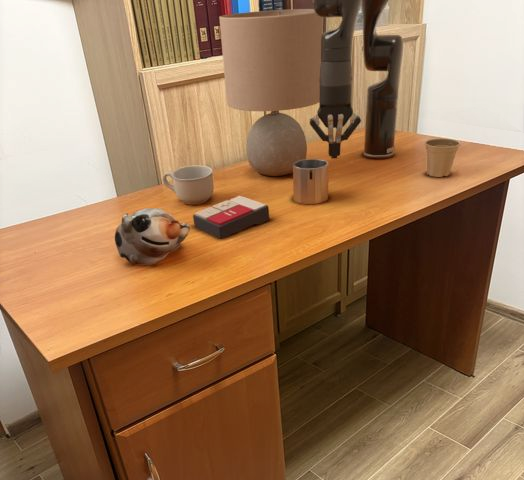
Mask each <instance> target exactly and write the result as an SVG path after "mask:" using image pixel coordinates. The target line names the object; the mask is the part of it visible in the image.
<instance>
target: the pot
mask: <svg viewBox="0 0 524 480" xmlns="http://www.w3.org/2000/svg"><path fill="white" fill-rule="evenodd" d="M329 167H330V166H329V161H327V160H326V159H322V158H306V159H303V160H299V161H296V162H294V163H293V173H292V181H293V183H292V185H293V186H292V187H293V201H294V202H295V203H298V204H302V205H317V204H323V203H324V202H327V200H329Z"/></svg>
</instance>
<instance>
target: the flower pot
mask: <svg viewBox="0 0 524 480" xmlns="http://www.w3.org/2000/svg"><path fill="white" fill-rule="evenodd" d="M424 146H425V150H426V175H429V176H430V177H435V178H443V177H448V176H450V174H451V171H452V167H453V164H454V161H455V158H456V154H457V151H458V149H459V147H460V146H461V142H460V141H459V140H457V139H452V138H431V139H427V140H425V141H424Z"/></svg>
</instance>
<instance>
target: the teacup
mask: <svg viewBox="0 0 524 480" xmlns="http://www.w3.org/2000/svg"><path fill="white" fill-rule="evenodd" d="M213 172H214V171H213V169H212V168H211V167H210V166H207V165H201V164H195V165H192V164H191V165H185V166H181V167H179V168H176V169H175V170H174V171H166V172H164V173H163V174H162V177H161V180H162V183H163V185H165V186H166V188H168V189H169V190H170V191H173V193H174V194H175V195H176V197H177V198H178V200H179V201H181V202H183V203H184V204H187V205H192V206H194V205H201V204H204V203H206V202H207V201H209V199H210V198H211V197H212V196H213V194H214V189H215V188H214V187H215V185H214V174H213ZM167 177H170V178H171V180H172V182H173V185H172V184H171V183H170V182H169V181H168V178H167Z"/></svg>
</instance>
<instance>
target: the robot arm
mask: <svg viewBox="0 0 524 480" xmlns="http://www.w3.org/2000/svg"><path fill="white" fill-rule="evenodd" d="M389 1H390V0H312V7H313V8H312V9H314V11H315V12H316V14H317V15H318V16H320V17H323V19H325V18H341V21H340V23H339V26H338V27H337V28H333V29H329V30H326V31H323V34H322V37H321V66H320V79H319V82H320V102H319V103H318V105H319V107H318V109H317V111H316V112H317V114H316V115H314V117H312V118H310V119H309V120H308V121H309V125H310V126H311V128H312V129H313V130H314V132H315V133H316V135H318V137H319V138H320V139H321V141H322V142H327V143H328V156H329V157H330V158H331V159H332V160H333V159H338V157H340V156H341V144H342V142H344V141H347V140H348V139H349V138H350V137H351V135H352V134H353V133H354V131H355V130H356V129H357V127H359V125H360V123H361V122H362V119H361V117H360V116H359V115H356V113H354V110H353V107H352V90H353V89H352V88H353V65H352V62H353V61H352V60H353V59H352V57H353V56H352V55H353V38H354V32H355V28H356V24H357V20H358V16H359V12H360V10H361V22H362V25H361V26H362V56H363V57H362V59H363V65H364V67H365V69H366V70H367V71H369V72H387V73H386V74H387V75H386V77H385V78H384V79H382V80H380V81H378V82H376V83H373V84H370V85H369V86H368V87H367V88H366V103H365V104H366V107H365V126H364V129H365V130H364V146H363V157H365V158H367V159H368V158H369V159H374V160H376V159H378V160H380V159H381V160H383V159H388V158H391V157H393V156H394V155H395V139H396V127H397V115H398V101H399V90H400V80H401V73H402V71H401V70H402V63H403V56H404V40H403V37H402V35H400V34H378V33H377V26H378V22H379V20H380V18H381V16H382V14H383V11H384V10H385V8H386V7H387V5H388V3H389ZM320 121H321V123H322V124H323V125H324V127H325V128H327V134H326V133H325V132H324V130H323V129H322V128H321V126H320ZM348 121H350V122H349V123H350V124H349V125H348V126H347V128H346V129H345V131H344V132H343V128H344V127H345V126H346V124H347V123H348ZM334 128H335V132H334ZM334 133H335V134H334Z"/></svg>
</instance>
